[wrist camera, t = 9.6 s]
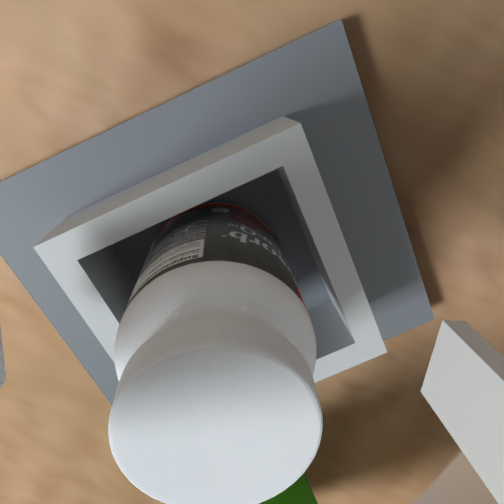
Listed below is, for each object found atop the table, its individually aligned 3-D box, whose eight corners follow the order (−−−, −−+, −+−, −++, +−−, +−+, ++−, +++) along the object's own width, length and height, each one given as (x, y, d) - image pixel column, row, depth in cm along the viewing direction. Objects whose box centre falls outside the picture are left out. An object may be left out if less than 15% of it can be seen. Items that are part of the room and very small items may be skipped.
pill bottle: (307, 270, 19) (396, 447, 10) (209, 341, 20) (204, 565, 11) (225, 169, 17) (239, 269, 8) (121, 254, 18) (21, 433, 9)
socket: (333, 22, 16) (376, -1, 12) (424, 309, 21) (476, 362, 17) (-26, 194, 17) (-101, 228, 13) (142, 428, 22) (127, 506, 18)
